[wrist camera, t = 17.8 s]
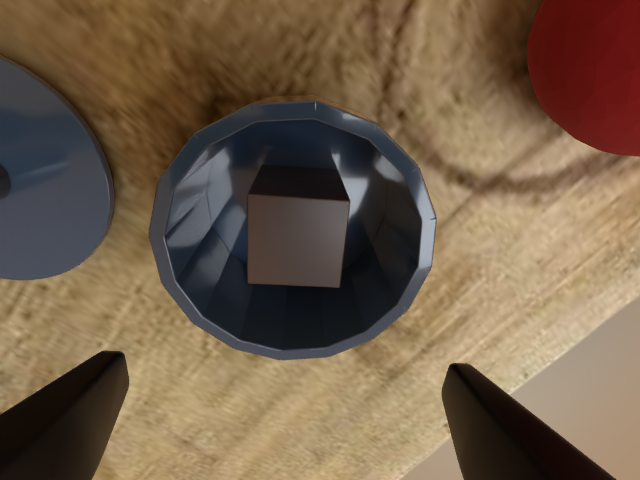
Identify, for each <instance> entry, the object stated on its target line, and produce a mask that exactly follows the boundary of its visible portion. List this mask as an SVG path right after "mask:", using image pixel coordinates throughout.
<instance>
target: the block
mask: <svg viewBox="0 0 640 480" xmlns="http://www.w3.org/2000/svg"><path fill="white" fill-rule="evenodd" d="M350 203H351V201H350V199H349V196H348V194H347V191H346V189H345V186H344V184H343V181H342V179H341V176H340V174H339V171H338V170H327V169H314V168H300V167H287V166H273V165H262V166H261V168H260V170H259V172H258V174H257V176H256V178H255V180H254V182H253V184H252V186H251V188H250V190H249V192H248V194H247V283H250V284H270V285H291V286H312V287H332V288H339V287H340V282H341V274H342V267H343V259H344V251H345V243H346V235H347V227H348V219H349V211H350Z"/></svg>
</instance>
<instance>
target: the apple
mask: <svg viewBox="0 0 640 480" xmlns="http://www.w3.org/2000/svg"><path fill="white" fill-rule="evenodd" d="M527 65H528V72H529V75H530V79H531V82H532V86H533V89H534V93H535V95H536V97H537V99H538V101H539V102H540V104H541V106H542V108H543V109H544V111H545V112H546V113H547V114H548V116H549V117H550V118H551V119H552V120H553V121H555V122H556V123H557V124H558V125H559V126H561V127H562V128H563V129H564V130H565V131H567V132H568V133H569V134H570V135H571V136H573V137H574V138H575V139H577V140H579V141H581V142H583V143H585V144H587V145H589V146H591V147H593V148H595V149H597V150H601V151H604V152H608V153H612V154H618V155H628V156H639V157H640V0H543V1H542V3H541V5H540V7H539V9H538V11H537V13H536V15H535V18H534V22H533V25H532V28H531V31H530V34H529V38H528V47H527Z"/></svg>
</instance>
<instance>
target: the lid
mask: <svg viewBox="0 0 640 480" xmlns="http://www.w3.org/2000/svg"><path fill="white" fill-rule="evenodd" d="M113 212H114V187H113V181H112V176H111V172H110V168H109V165H108V163H107V160H106V157H105V154H104V152H103V150H102V148H101V146H100V144H99V142H98V140H97V138H96V137H95V135H94V134H93V132H92V131H91V129H90V127H89V126H88V124H87V123H86V122H85V120H84V119H83V118H82V117H81V115H80V114H79V113H78V112H77V110H76V109H75V108H74V107H73V106H72V105H71V104H70V103H69V102H68V101H67V100H66V99H65V98H64V97H63V96H62V95H61V94H60V93H59V92H58V91H56V90H55V89H54V88H53V87H52V86H51V85H49V84H48V83H47V82H46V81H44V80H43V79H41V78H40V77H39V76H37V75H36V74H34V73H33V72H31V71H30V70H28V69H27V68H25V67H23V66H21V65H19V64H17V63H16V62H14V61H12V60H10V59H8V58H5V57H3V56H1V55H0V278H2V279H12V280H35V279H43V278H48V277H52V276H56V275H59V274H62V273H64V272H67V271H69V270H71V269H73V268H74V267H76V266H78V265H80V264H81V263H82V262H83V261H85V260H86V259H87V258H88V257H89V256H91V255H92V254H93V253H94V252H95V251H96V250H97V248H98V247H99V246H100V245H101V243H102V242H103V240H104V238H105V237H106V235H107V233H108V230H109V228H110V225H111V221H112V217H113Z"/></svg>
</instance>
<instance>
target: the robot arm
mask: <svg viewBox="0 0 640 480" xmlns="http://www.w3.org/2000/svg"><path fill="white" fill-rule="evenodd" d="M128 387H129V376H128V370H127V365H126V359H125V355H124V354H123V352H120V351H101V352H99V353H98V354H96V355H94V356H93V357H91V358H90V359H88V360H86V361H85V362H83V363H82V364H80V365H78V366H77V367H75V368H74V369H72V370H70V371H69V372H67V373H66V374H64V375H63V376H61V377H59V378H58V379H56V380H55V381H53V382H51V383H50V384H48V385H47V386H45V387H43V388H42V389H40V390H39V391H37V392H36V393H34V394H32V395H31V396H29V397H28V398H26V399H24V400H23V401H21V402H20V403H18V404H16V405H15V406H13V407H12V408H10V409H9V410H7V411H5V412H4V413H2V414H1V415H0V480H92V478H93V476H94V474H95V472H96V470H97V468H98V466H99V463H100V461H101V458H102V456H103V454H104V451H105V448H106V446H107V443H108V441H109V438H110V435H111V433H112V430H113V428H114V425H115V422H116V420H117V417H118V415H119V412H120V409H121V407H122V404H123V401H124V399H125V396H126V394H127V391H128ZM442 401H443V405H444V408H445V412H446V416H447V420H448V424H449V428H450V432H451V436H452V439H453V443H454V447H455V451H456V455H457V459H458V462H459V466H460V469H461V472H462V475H463V478H464V480H616V479H615V478H613V477H612V476H611V475H610V474H609V473H607V472H606V471H605V470H604V469H602V468H601V467H600V466H598V465H597V464H596V463H595V462H593V461H592V460H591V459H589V458H588V457H587V456H586V455H584V454H583V453H582V452H581V451H579V450H578V449H577V448H576V447H574V446H573V445H572V444H570V443H569V442H568V441H567V440H565V439H564V438H563V437H562V436H560V435H559V434H558V433H557V432H555V431H554V430H552V429H551V428H550V427H549V426H548V425H546V424H545V423H544V422H543V421H541V420H540V419H539V418H537V417H536V416H535V415H534V414H532V413H531V412H530V411H529V410H527V409H526V408H525V407H524V406H522V405H521V404H520V403H518V402H517V401H516V400H515V399H513V398H512V397H511V396H510V395H508V394H507V393H506V392H504V391H503V390H502V389H501V388H499V387H498V386H497V385H496V384H494V383H493V382H492V381H491V380H489V379H488V378H487V377H485V376H484V375H483V374H482V373H480V372H479V371H478V370H477V369H475V368H474V367H473V366H471V365H470V364H466V363H452V364H451V365H450V366H449V368H448V371H447V374H446V377H445V380H444V384H443V387H442Z"/></svg>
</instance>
